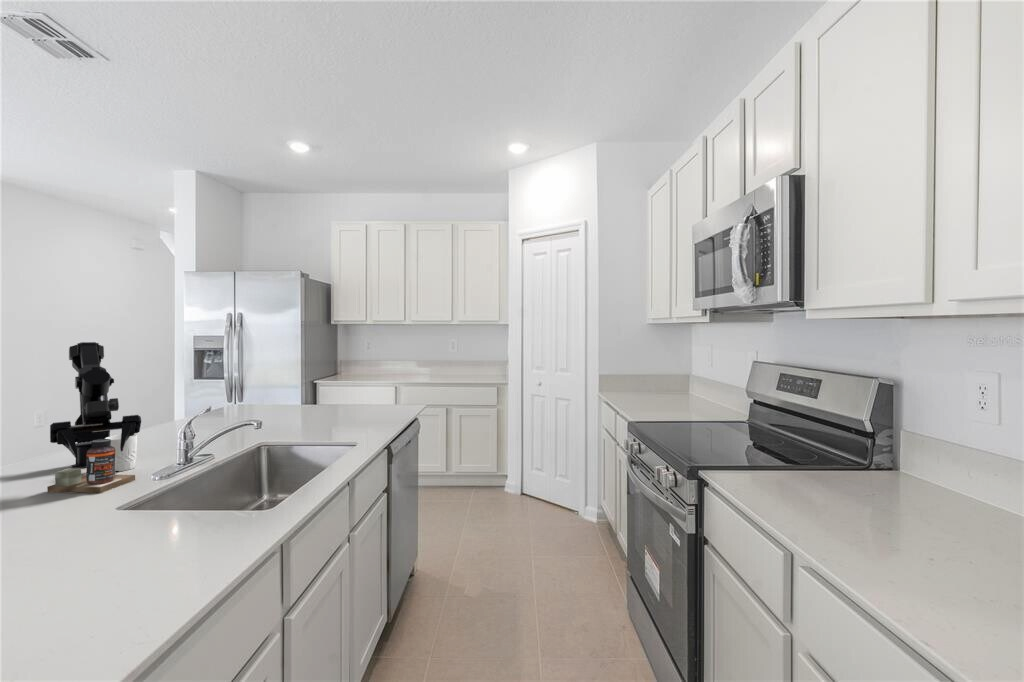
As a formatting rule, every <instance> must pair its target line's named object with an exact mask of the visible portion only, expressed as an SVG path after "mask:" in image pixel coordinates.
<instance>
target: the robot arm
mask: <svg viewBox="0 0 1024 682" xmlns="http://www.w3.org/2000/svg"><path fill="white" fill-rule="evenodd" d="M104 348H105V347H104V345H101V344H99V342H96V341H95V342H94V341H90V342H89V341H85V342H84V341H82V342H81V341H80V342H79V343H77V344H74V345H71V346H69V347H68V360H69V361H71V366H72V368H73V369H74V370H75V371H76V372H77V375H78V376H75V380H74V382H75V383H74V386H75V389H78V392H79V408H80V409H79V411H80V415H78V417H77V419H76V420H75V422H74V425H72V422H71V420H68V421H67V420H66V421H58V422H52V423H51V424H50V425H49V428H50V429H49V442H50V443H51V444H55V443H56V445H63V446H64V447H65V448H66V449H67V450H69V452H70V453H71V454H72V456H73V457H74V458H75V463H74V464H71V465H70V467H71V466H75V467H74V468H78V467H79V468H87V451H88V450H89V449H91V447H92V446H91V445H92V441H94V440H98V439H105V438H106V437H110V434H111V431H114V430H121V433H120V435H121V443H120V450H121V451H123V449H124V446H125V444H126V441H127V440H128V438H129V437H130V436H133V435H134V434H139V433H140V432H141V424H142V418H141V415H139V414H130V415H123V416H122V418H121V421H112V422H111V420H112V412H117V411H118V410H119V408H120V406H119V405H120V404H119V398H117V397H116V398H115V397H114V398H108V393H109V391H110V387H112V384H115V379H114V378H112V376H111V374H110V373H109V372H107V368H104V367H102V366H101V362H102V360H103V359H104V358H105V350H104Z"/></svg>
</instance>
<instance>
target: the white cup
mask: <svg viewBox="0 0 1024 682" xmlns="http://www.w3.org/2000/svg"><path fill="white" fill-rule="evenodd" d="M138 436H139V435H138V434H137V433H134V435H133V436H130V437H129V438H128V440H127V441H126V444H125V446H124V449H123V451H121V450H120V443H121V434H116V435H111V436H110V437H106V438H105V439H111V444H110V445H111V446H112V447H114V448H115V471H119V472H124V471H125V470H126V471H129V470H132V469H135V468H136V467H137V455H138V454H137V453H138Z"/></svg>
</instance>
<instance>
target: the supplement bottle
mask: <svg viewBox="0 0 1024 682" xmlns="http://www.w3.org/2000/svg"><path fill="white" fill-rule="evenodd" d="M110 444H111V439H98V440H94V441H92V445H91V446H92V447H91V449H89V450H88V451H87V467H86V473H85V474H86V475H87V476H86V477H87V483H88V484H103V483H108V482H111V481H113V480H114V479H115V475H116V472H115V448H114V447H112V446H111V445H110Z"/></svg>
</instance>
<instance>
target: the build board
mask: <svg viewBox="0 0 1024 682" xmlns="http://www.w3.org/2000/svg"><path fill="white" fill-rule="evenodd" d="M86 474H87V473H85V474H82V468H72V467H71V468H65V469H62V470H57V471H55V472H54V484H51V485H48V486H47V491H46V492H47V493H59V492H87V493H86V494H103V493H104V492H106V491H109V490H112V488H113V489H115V488H118V487H121V486H123V485H126V484H128V483H131V482H134V481H136V474H115V479H114V480H113V481H111V482H108V483H103V484H88V483H87V477H86V476H87V475H86ZM120 485H121V486H120Z"/></svg>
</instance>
